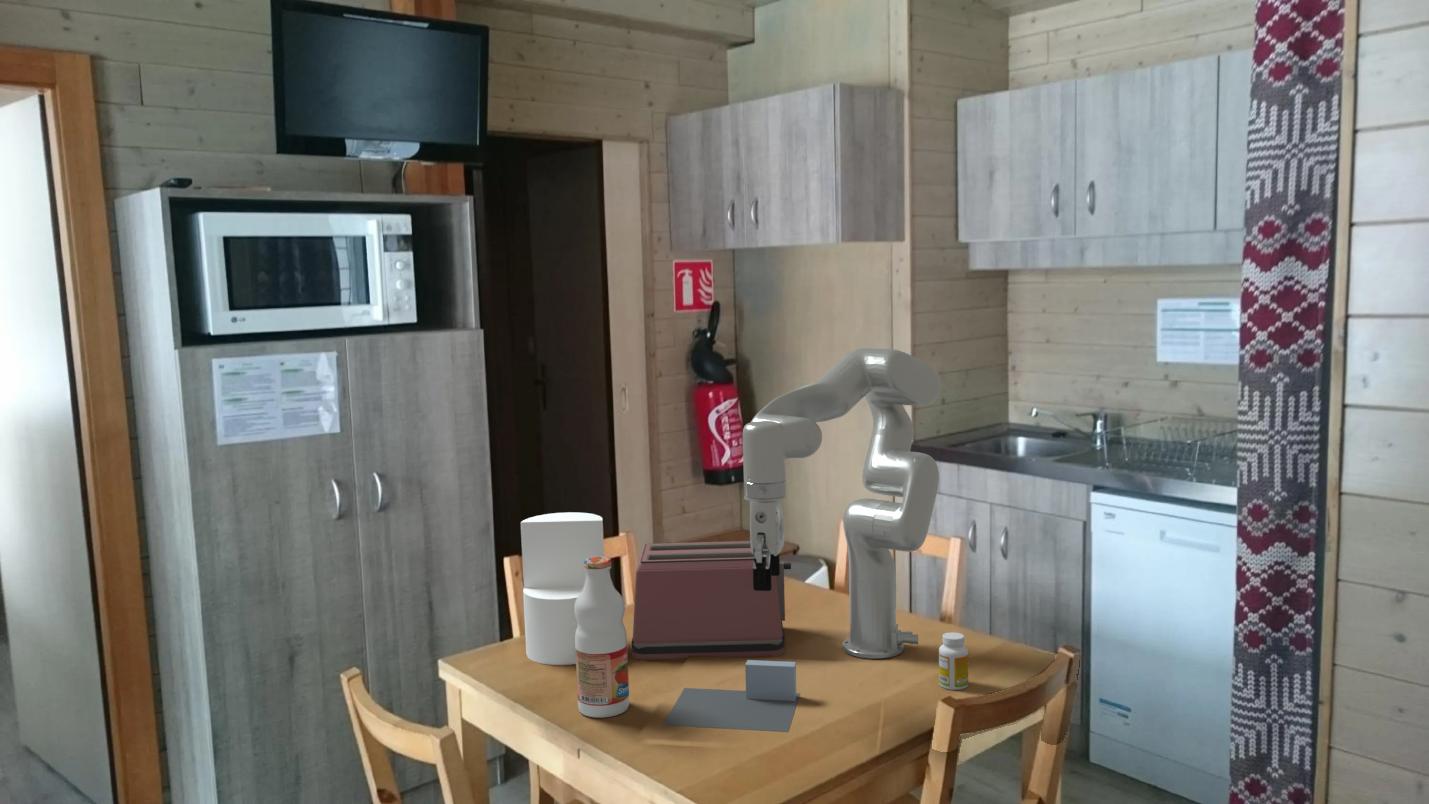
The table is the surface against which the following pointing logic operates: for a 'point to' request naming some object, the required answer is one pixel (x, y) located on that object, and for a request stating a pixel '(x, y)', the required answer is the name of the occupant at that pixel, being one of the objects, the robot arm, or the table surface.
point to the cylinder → (556, 580)
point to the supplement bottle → (953, 662)
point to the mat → (730, 711)
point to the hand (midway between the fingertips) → (766, 582)
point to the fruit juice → (601, 644)
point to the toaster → (705, 603)
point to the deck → (770, 680)
